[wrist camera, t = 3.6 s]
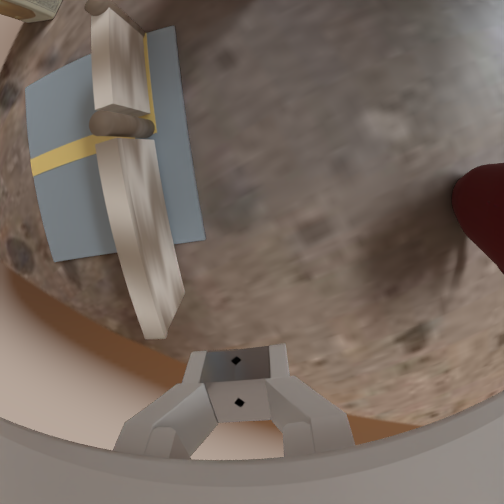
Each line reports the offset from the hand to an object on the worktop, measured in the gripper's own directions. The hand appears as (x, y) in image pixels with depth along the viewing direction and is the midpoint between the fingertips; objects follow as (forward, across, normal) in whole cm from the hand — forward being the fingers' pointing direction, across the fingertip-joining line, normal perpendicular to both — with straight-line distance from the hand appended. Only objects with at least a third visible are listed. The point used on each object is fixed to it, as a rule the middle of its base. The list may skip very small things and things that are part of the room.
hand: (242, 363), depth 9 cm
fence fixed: (+13, +6, -14) cm, 20 cm away
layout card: (+14, +11, -9) cm, 20 cm away
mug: (+14, -20, -1) cm, 25 cm away
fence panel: (+13, +6, -3) cm, 15 cm away
